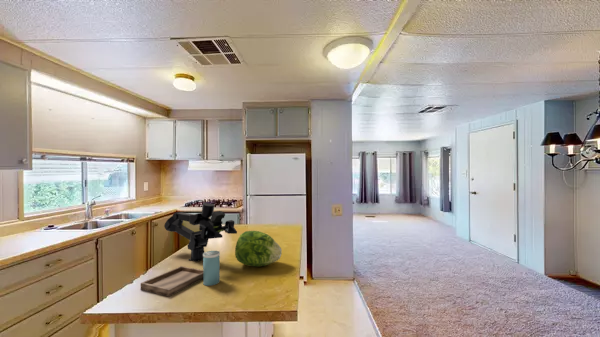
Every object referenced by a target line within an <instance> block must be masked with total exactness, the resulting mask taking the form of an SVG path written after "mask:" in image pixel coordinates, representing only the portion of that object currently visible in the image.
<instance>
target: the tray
mask: <svg viewBox="0 0 600 337" xmlns="http://www.w3.org/2000/svg"><path fill="white" fill-rule="evenodd" d="M200 281H203V269H198V268H194V267H188V266H182V265H180V266H178V267H177V268H173V269H172V270H169V271H167V272H164V273H161V274H159V275H157V276H155V277H152V278H150V279H147V280H145V281H143V282H140V291H141V290H142V291H145V292H148V293H154V294H156V295H162V296H165V297H168V298H169V297H171V296H173V295H175V294H176V293H178V292H179V293H180V292H181V291H182V290H184V289H186V288H189V287H191V286H192V285H195V284H196V283H198V282H200Z"/></svg>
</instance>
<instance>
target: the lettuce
mask: <svg viewBox="0 0 600 337" xmlns="http://www.w3.org/2000/svg"><path fill="white" fill-rule="evenodd" d="M234 253H235V254H234V255H235V256H234V257H235V258H236V260H237V261H238V262H239V263H241V264H243V265H245V266H248V267H249V266H250V267H265V266H268V265H271V264H273V263H276V262H277V261H279V260H280V258H281V257H282V247H281V246H280V244H279V243H278V242H276V241H275V239H274V238H273V237H272V236H271V235H269V234H268V233H264V232H262V231H257V230H246V231H244V232H242V233H241V234H239V237H238V239H237V241H236V244H235V251H234Z"/></svg>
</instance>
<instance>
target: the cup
mask: <svg viewBox="0 0 600 337" xmlns="http://www.w3.org/2000/svg"><path fill="white" fill-rule="evenodd" d="M220 255H221V253H220V250H208V251H204V253H203V260H202V261H203V262H202V268H203V269H202V270H203V279H202V281H203V282H202V284H203V285H204V286H206V287H210V286H215V285H218V284H219V283H220V279H221V278H220V258H221V257H220Z"/></svg>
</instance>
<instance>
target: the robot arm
mask: <svg viewBox="0 0 600 337" xmlns="http://www.w3.org/2000/svg"><path fill="white" fill-rule="evenodd" d="M201 206H202V208H201V212H198V213H195V214H194V213H187V212H182V211H180V212H179V211H178V212H174V213H173V214H172V215H171V217H169V218H168V219H167V220H166V221H165V222H164V225H163V227H164V229H165V230H166V231H168V232H175V233H177V234H179V235H180V236H182V237H184V238H185V239H186V240H189V242H188V244H187V249H188V250H190V257H189V259H188V261H193V262H200V261H203V253H204V252H205V248H206V247H207V246H208V244H209V243H208V242H209V240H211V239H221V238H223V236H224V235H223V234H222V233H221V232H225V234H228V235H229V234H230V235H231V234H234V235H235V234H236V235H237V234H238V231H237V230H236V228H235V224H236V223H235V220H232V219H231V220H226V221H225V223H224V225H223V220H222V219H224V218H225V216H226V213H225V212H224V211H222V210H217V211H214V210H215V204H214V203H209V202H208V203H207V202H203V203H202V205H201ZM184 221H185V222H189V224H190V225H191V226H197V225H199V226H198V227H199V230H198V231H194V230H192V229H190V228H188V227H186V226H184V225H183V224H184Z"/></svg>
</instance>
